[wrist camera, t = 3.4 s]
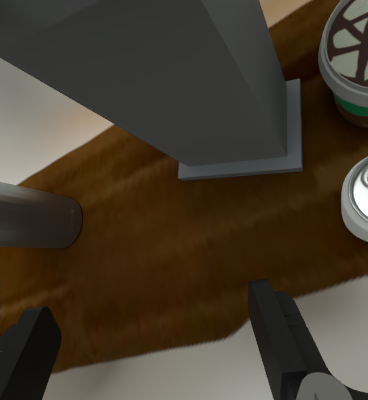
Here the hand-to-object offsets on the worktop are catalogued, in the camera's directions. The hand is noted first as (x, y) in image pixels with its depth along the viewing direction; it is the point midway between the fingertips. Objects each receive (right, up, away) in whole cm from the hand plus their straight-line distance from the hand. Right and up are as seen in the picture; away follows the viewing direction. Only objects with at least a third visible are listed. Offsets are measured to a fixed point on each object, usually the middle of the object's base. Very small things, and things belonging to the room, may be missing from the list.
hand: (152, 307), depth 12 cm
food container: (+21, +16, +21) cm, 34 cm away
